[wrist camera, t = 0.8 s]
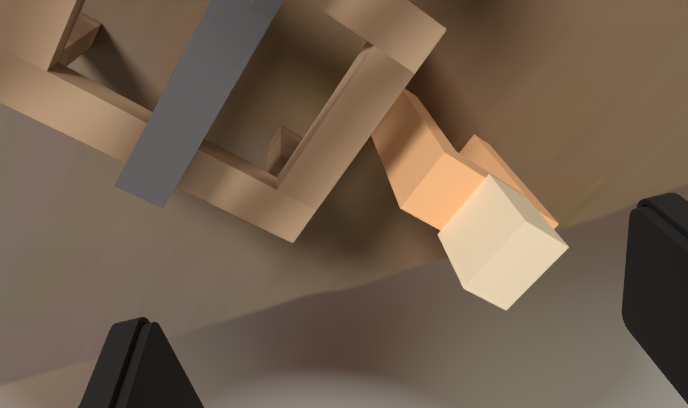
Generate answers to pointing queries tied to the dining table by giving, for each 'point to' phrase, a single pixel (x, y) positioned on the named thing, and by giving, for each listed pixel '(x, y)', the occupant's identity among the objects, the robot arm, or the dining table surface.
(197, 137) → the long charcoal crossbeam
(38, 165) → the dining table surface
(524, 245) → the orange cream legged block
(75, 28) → the shelf
